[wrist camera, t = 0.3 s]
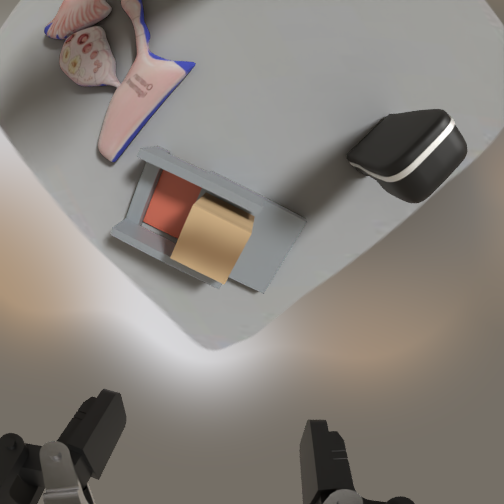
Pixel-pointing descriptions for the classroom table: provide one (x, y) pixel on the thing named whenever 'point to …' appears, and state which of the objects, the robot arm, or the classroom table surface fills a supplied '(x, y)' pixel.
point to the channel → (179, 206)
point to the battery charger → (411, 153)
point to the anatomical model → (114, 68)
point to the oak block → (213, 237)
